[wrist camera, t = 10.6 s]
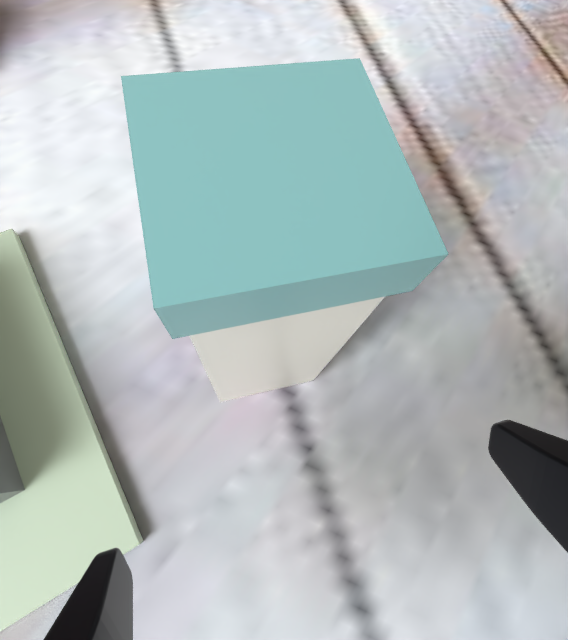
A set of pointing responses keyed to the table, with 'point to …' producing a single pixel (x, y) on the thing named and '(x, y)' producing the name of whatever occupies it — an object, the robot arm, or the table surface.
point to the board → (48, 454)
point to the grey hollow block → (8, 469)
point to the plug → (272, 214)
